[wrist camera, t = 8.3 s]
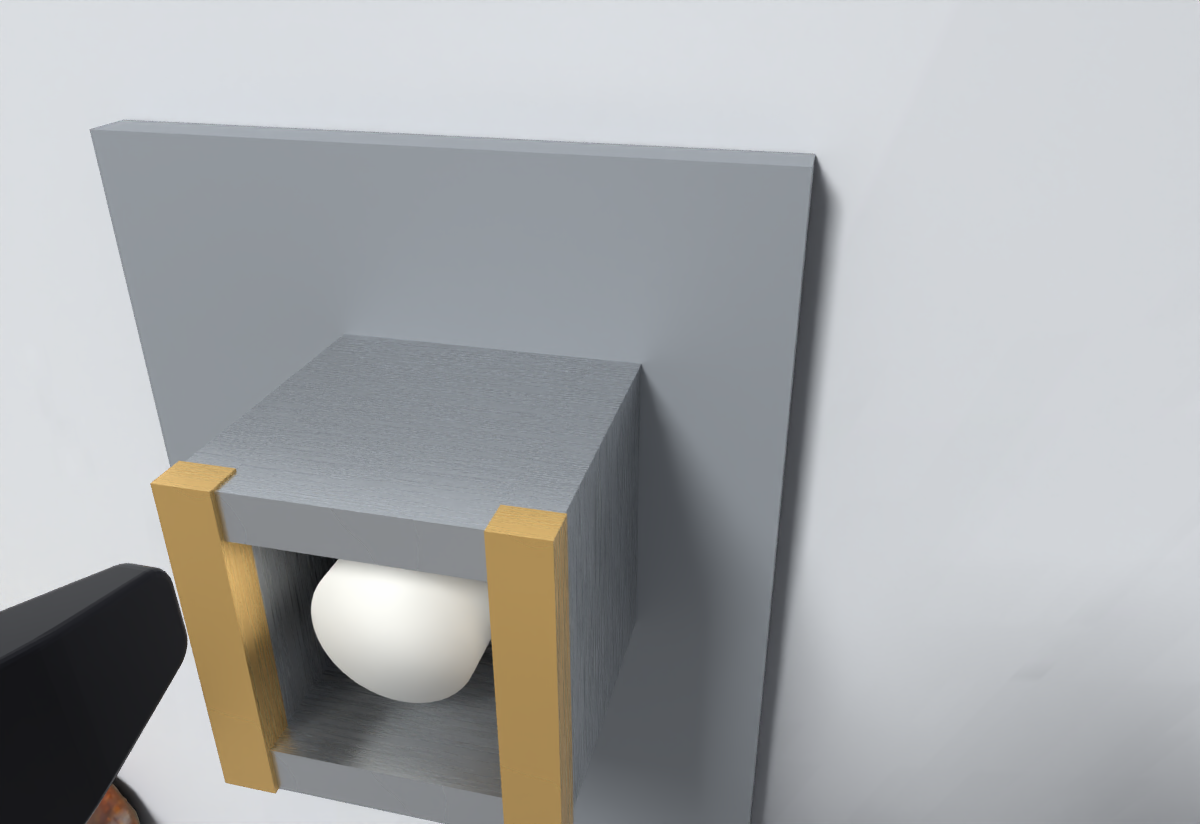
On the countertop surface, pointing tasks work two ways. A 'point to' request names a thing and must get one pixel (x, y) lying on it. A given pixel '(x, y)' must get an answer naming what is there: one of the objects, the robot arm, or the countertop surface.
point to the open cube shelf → (421, 543)
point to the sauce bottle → (114, 810)
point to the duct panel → (516, 323)
